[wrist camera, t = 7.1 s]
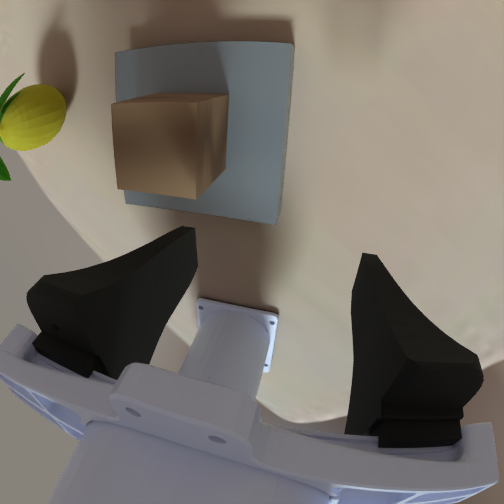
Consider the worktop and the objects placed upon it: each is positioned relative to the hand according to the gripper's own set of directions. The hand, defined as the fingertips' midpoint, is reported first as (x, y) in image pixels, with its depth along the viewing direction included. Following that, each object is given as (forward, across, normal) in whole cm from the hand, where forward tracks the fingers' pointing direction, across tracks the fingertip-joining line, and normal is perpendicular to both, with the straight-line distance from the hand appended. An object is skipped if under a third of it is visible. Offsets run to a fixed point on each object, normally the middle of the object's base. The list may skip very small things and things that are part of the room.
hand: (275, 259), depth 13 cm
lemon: (+10, +21, -6) cm, 24 cm away
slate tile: (+10, +7, -4) cm, 13 cm away
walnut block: (+8, +7, -4) cm, 11 cm away
